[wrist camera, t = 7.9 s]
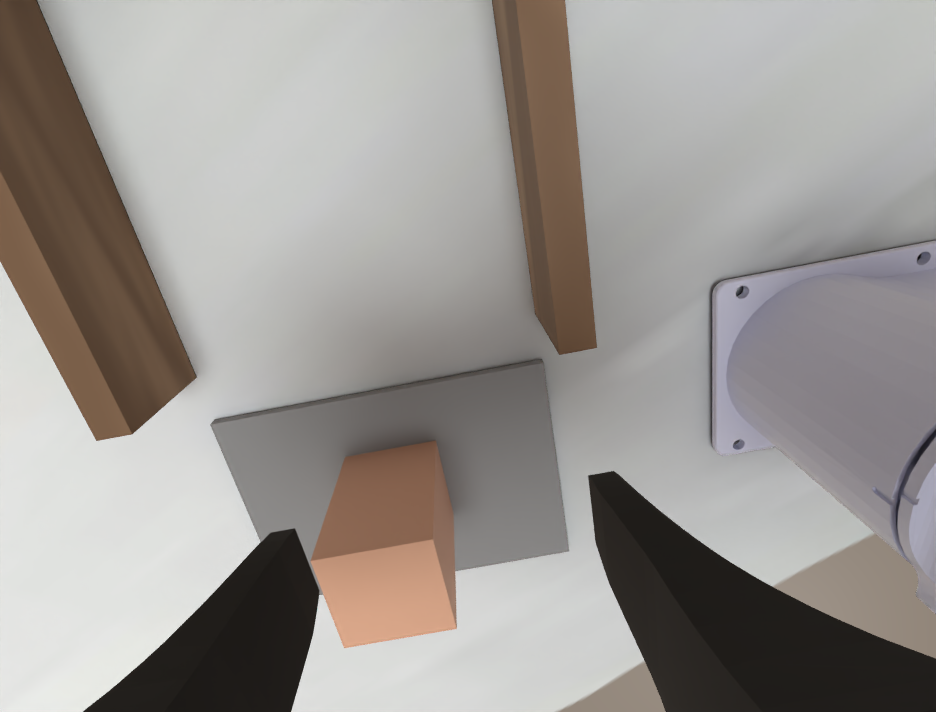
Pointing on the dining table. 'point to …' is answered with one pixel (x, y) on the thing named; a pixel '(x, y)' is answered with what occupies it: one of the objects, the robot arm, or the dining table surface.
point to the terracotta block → (389, 547)
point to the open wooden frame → (124, 264)
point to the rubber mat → (407, 423)
